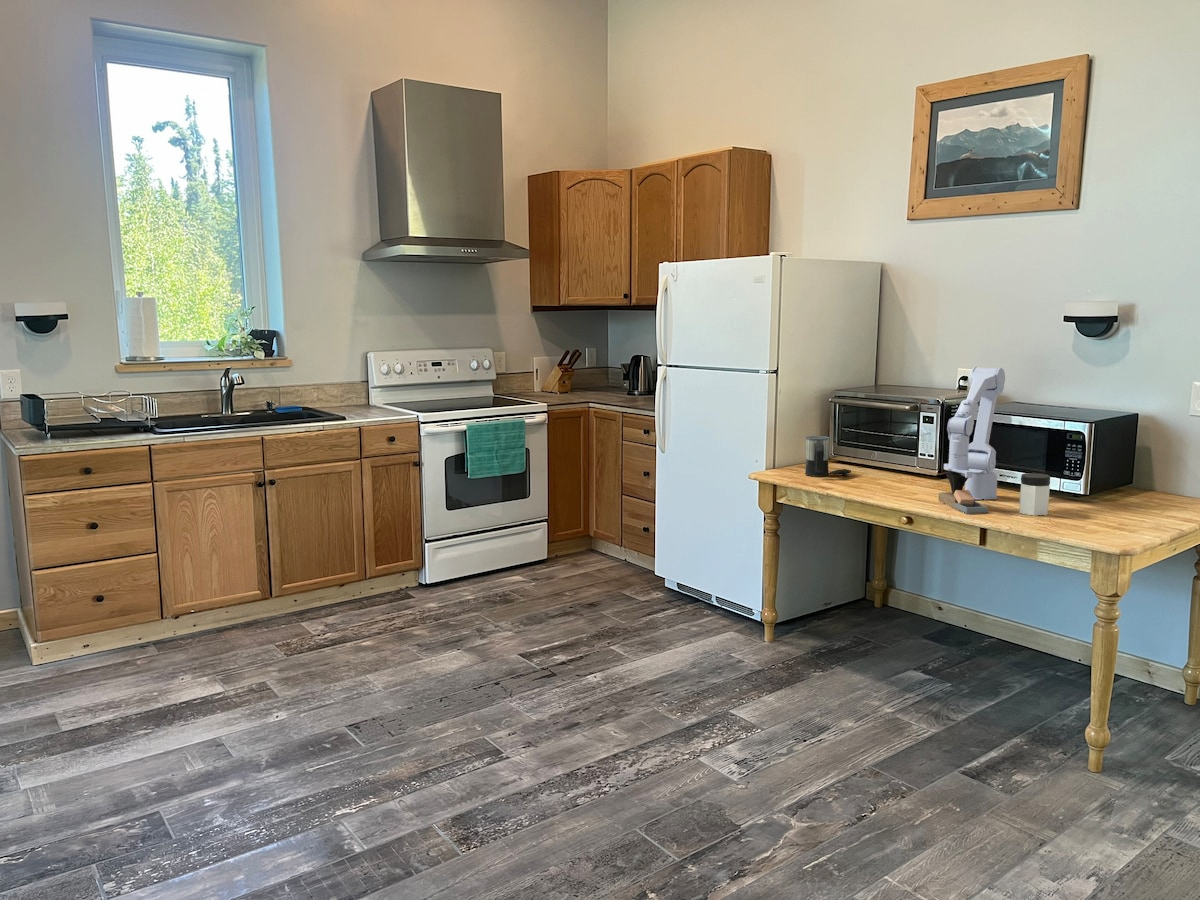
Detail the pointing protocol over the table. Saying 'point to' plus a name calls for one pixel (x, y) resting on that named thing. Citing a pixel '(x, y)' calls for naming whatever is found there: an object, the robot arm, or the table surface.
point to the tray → (971, 508)
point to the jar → (1034, 494)
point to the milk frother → (819, 457)
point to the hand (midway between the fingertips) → (956, 495)
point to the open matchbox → (948, 498)
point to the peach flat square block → (964, 497)
